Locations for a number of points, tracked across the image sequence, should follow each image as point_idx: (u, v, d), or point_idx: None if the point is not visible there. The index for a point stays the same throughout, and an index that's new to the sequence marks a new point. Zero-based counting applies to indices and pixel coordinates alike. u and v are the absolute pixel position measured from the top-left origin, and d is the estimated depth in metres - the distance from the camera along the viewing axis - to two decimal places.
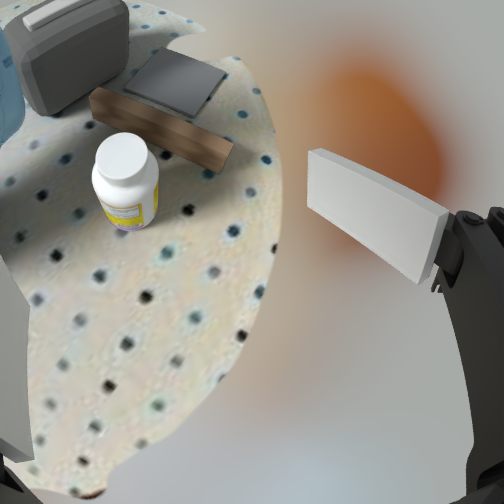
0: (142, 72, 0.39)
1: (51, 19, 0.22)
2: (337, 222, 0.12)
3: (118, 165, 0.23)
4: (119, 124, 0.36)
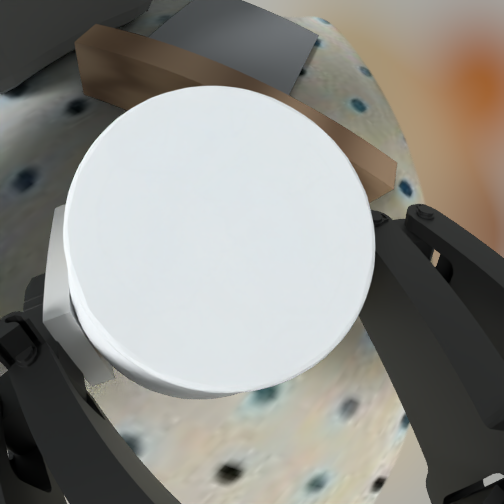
0: (179, 18, 0.20)
1: None
2: None
3: (230, 298, 0.04)
4: None
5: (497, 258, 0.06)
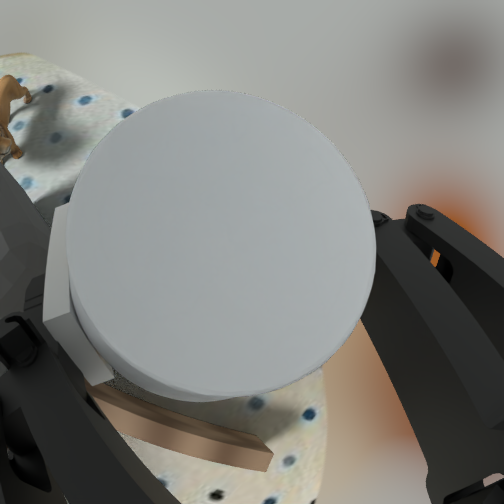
0: None
1: None
2: None
3: (232, 304, 0.04)
4: None
5: (497, 258, 0.06)
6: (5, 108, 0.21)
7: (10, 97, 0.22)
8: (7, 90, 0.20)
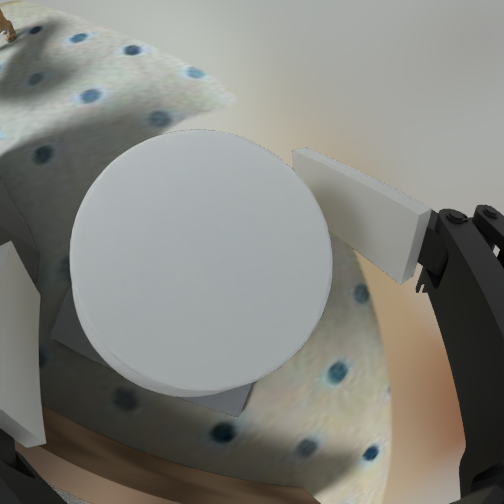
0: None
1: None
2: None
3: (203, 316, 0.05)
4: None
5: None
6: None
7: None
8: None
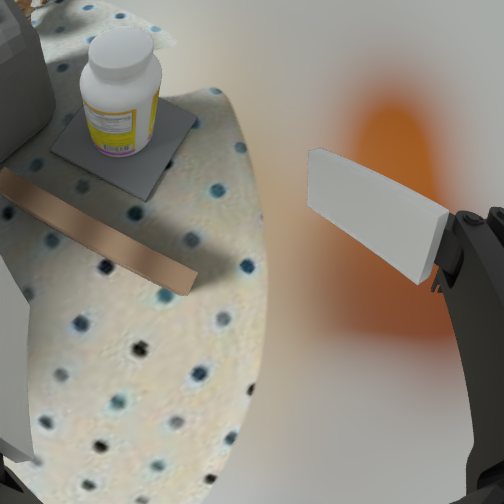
0: (76, 121, 0.26)
1: None
2: (337, 222, 0.12)
3: (115, 55, 0.16)
4: (41, 220, 0.23)
5: None
6: None
7: None
8: None
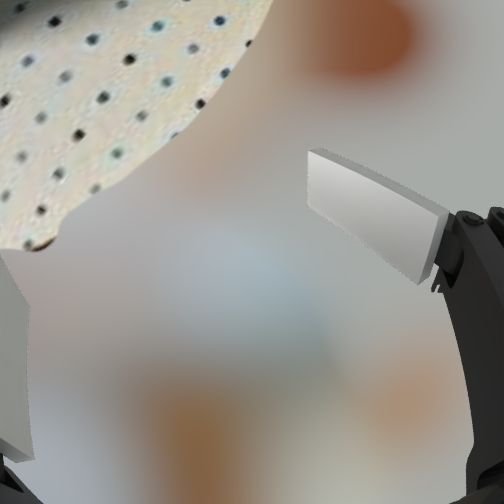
0: None
1: None
2: (337, 222, 0.12)
3: None
4: None
5: None
6: None
7: None
8: None
